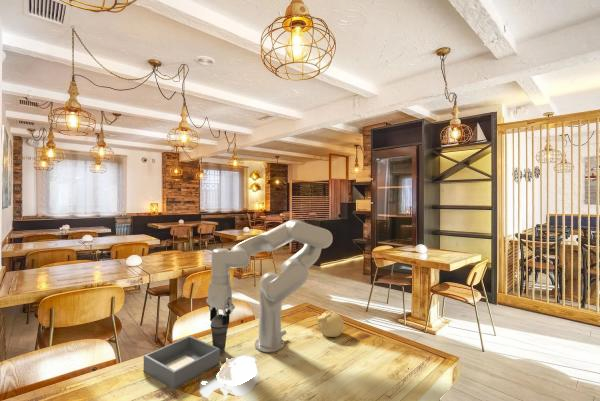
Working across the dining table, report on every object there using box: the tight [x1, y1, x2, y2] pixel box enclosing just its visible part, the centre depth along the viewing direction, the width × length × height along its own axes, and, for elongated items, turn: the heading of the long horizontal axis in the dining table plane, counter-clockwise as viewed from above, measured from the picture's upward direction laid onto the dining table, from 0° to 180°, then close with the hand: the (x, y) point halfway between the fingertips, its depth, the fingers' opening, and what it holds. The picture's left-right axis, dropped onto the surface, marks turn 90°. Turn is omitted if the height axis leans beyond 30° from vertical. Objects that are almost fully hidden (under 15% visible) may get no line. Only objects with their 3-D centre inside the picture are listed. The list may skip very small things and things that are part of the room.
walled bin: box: [143, 335, 221, 391], centre depth 119 cm, size 20×18×6 cm
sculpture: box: [316, 310, 345, 338], centre depth 151 cm, size 12×12×11 cm
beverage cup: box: [210, 308, 230, 356], centre depth 131 cm, size 7×7×20 cm
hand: (219, 321), depth 131 cm, fingers closed on beverage cup, 6 cm apart
